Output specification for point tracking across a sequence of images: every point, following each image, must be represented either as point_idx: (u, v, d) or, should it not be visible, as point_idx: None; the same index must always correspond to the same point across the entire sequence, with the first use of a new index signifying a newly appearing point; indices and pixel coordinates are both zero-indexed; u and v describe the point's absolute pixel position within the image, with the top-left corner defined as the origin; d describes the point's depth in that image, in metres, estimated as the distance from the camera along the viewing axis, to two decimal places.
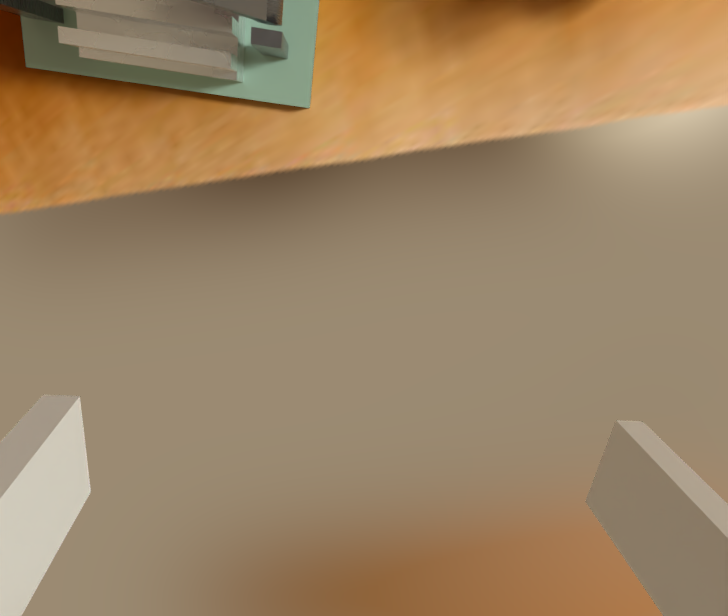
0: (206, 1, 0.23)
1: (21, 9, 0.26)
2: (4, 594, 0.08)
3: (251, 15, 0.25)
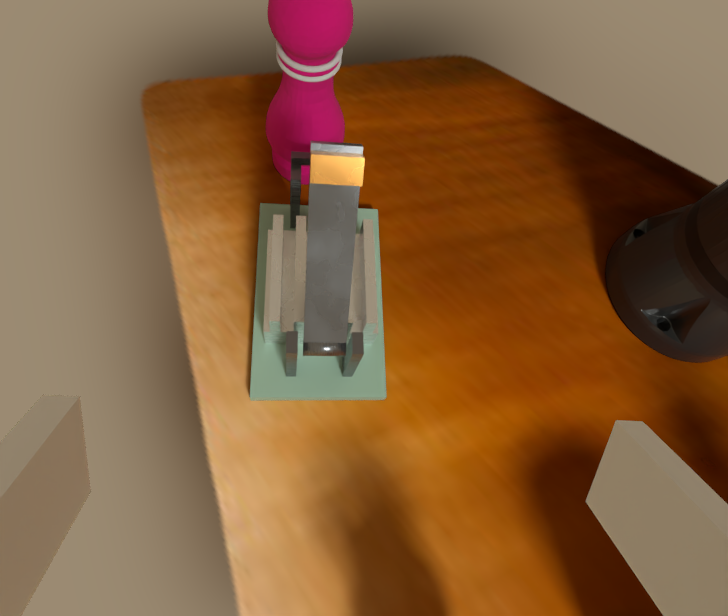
0: (305, 293, 0.33)
1: (291, 198, 0.41)
2: (4, 594, 0.08)
3: (304, 329, 0.34)
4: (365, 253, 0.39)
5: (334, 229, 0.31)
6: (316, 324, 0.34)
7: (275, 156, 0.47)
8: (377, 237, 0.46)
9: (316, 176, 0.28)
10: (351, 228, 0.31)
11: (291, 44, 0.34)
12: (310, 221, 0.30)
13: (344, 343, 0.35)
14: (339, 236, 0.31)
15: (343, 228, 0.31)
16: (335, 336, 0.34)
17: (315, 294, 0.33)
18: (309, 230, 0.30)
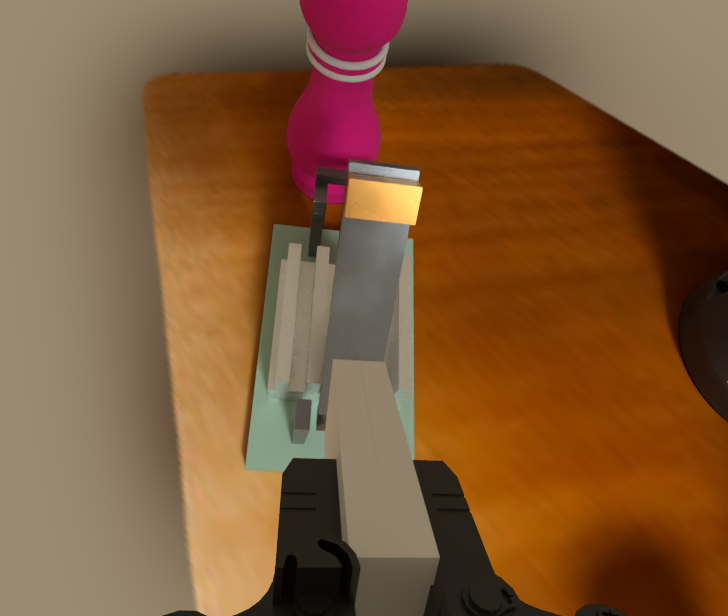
0: (326, 355, 0.25)
1: (312, 223, 0.33)
2: None
3: (320, 399, 0.26)
4: (400, 298, 0.31)
5: (370, 277, 0.23)
6: None
7: (295, 169, 0.39)
8: (411, 273, 0.38)
9: (354, 208, 0.20)
10: (393, 277, 0.23)
11: (327, 31, 0.26)
12: (340, 265, 0.23)
13: None
14: (376, 286, 0.23)
15: (382, 276, 0.23)
16: None
17: (338, 357, 0.25)
18: (337, 276, 0.23)
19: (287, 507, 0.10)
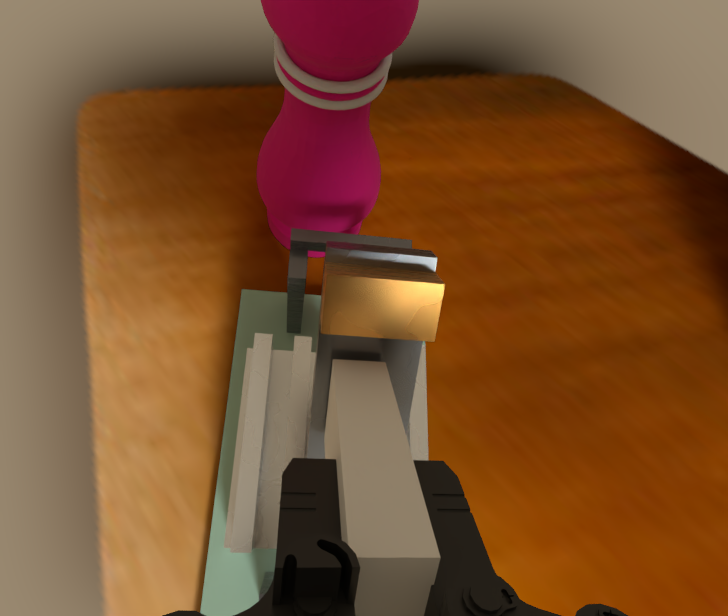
0: None
1: (288, 300, 0.24)
2: None
3: None
4: (411, 410, 0.22)
5: None
6: None
7: (271, 215, 0.30)
8: None
9: (336, 320, 0.13)
10: (400, 414, 0.15)
11: (300, 38, 0.17)
12: (318, 401, 0.15)
13: None
14: None
15: None
16: None
17: None
18: (314, 417, 0.15)
19: (287, 507, 0.10)
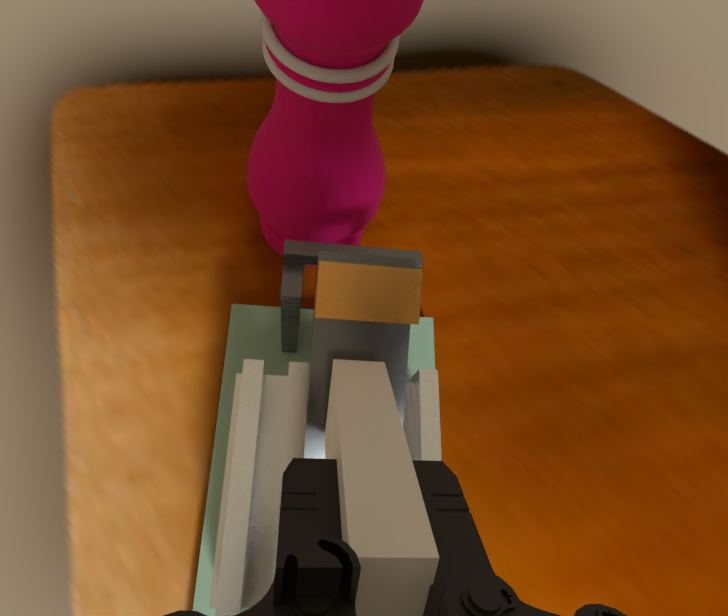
0: None
1: (282, 319, 0.21)
2: None
3: None
4: (423, 446, 0.19)
5: None
6: None
7: (264, 221, 0.28)
8: None
9: (328, 304, 0.14)
10: None
11: (290, 16, 0.15)
12: (313, 404, 0.15)
13: None
14: None
15: None
16: None
17: None
18: (309, 422, 0.15)
19: (287, 507, 0.10)
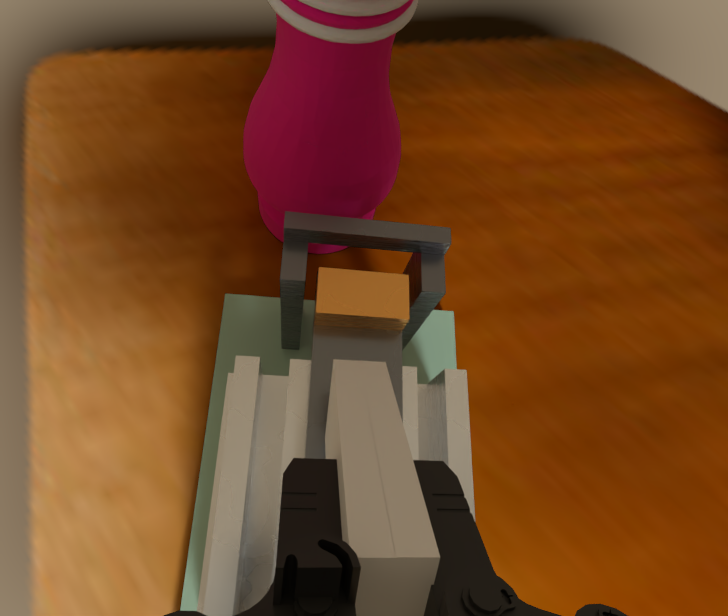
0: None
1: (282, 309, 0.18)
2: None
3: None
4: (451, 461, 0.16)
5: None
6: None
7: (262, 201, 0.24)
8: None
9: (327, 301, 0.16)
10: None
11: None
12: (314, 404, 0.15)
13: None
14: None
15: None
16: None
17: None
18: (311, 422, 0.15)
19: (288, 507, 0.10)
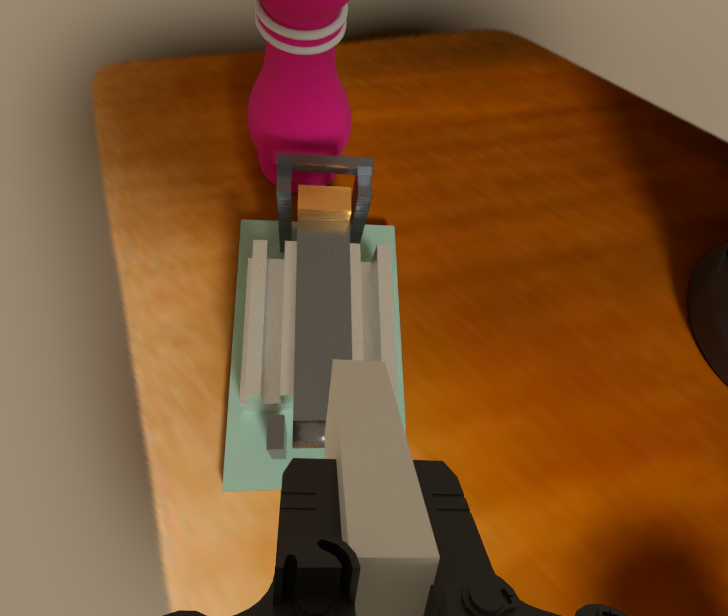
0: (295, 345, 0.26)
1: (278, 216, 0.30)
2: None
3: (294, 399, 0.25)
4: (380, 293, 0.28)
5: (326, 268, 0.27)
6: (310, 391, 0.25)
7: (261, 158, 0.36)
8: (394, 263, 0.35)
9: (304, 203, 0.27)
10: (345, 267, 0.28)
11: None
12: (300, 261, 0.27)
13: None
14: (332, 275, 0.27)
15: (336, 267, 0.28)
16: None
17: (307, 347, 0.26)
18: (298, 270, 0.27)
19: (287, 507, 0.10)
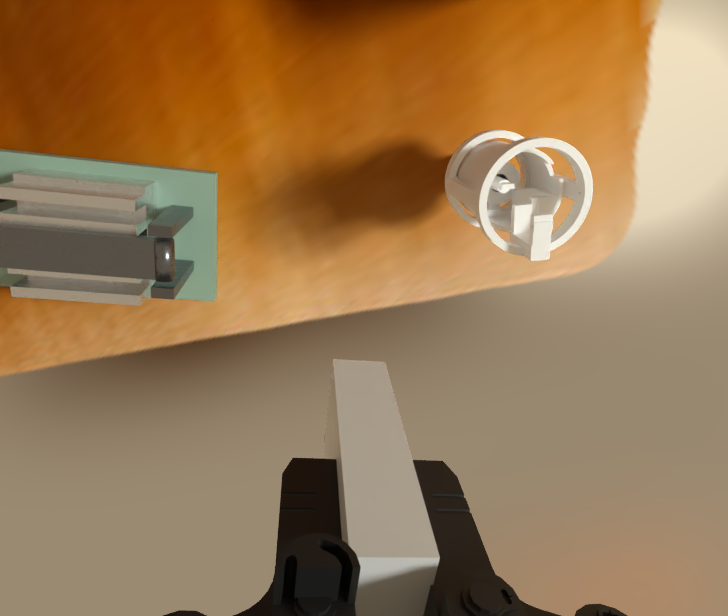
0: (99, 275, 0.35)
1: None
2: None
3: (140, 278, 0.36)
4: (45, 201, 0.34)
5: (28, 247, 0.34)
6: (133, 267, 0.35)
7: None
8: (12, 154, 0.37)
9: None
10: (24, 232, 0.34)
11: None
12: (25, 267, 0.35)
13: (153, 242, 0.35)
14: (35, 243, 0.34)
15: (26, 239, 0.34)
16: (146, 250, 0.35)
17: (99, 266, 0.35)
18: (33, 268, 0.35)
19: (287, 507, 0.10)
